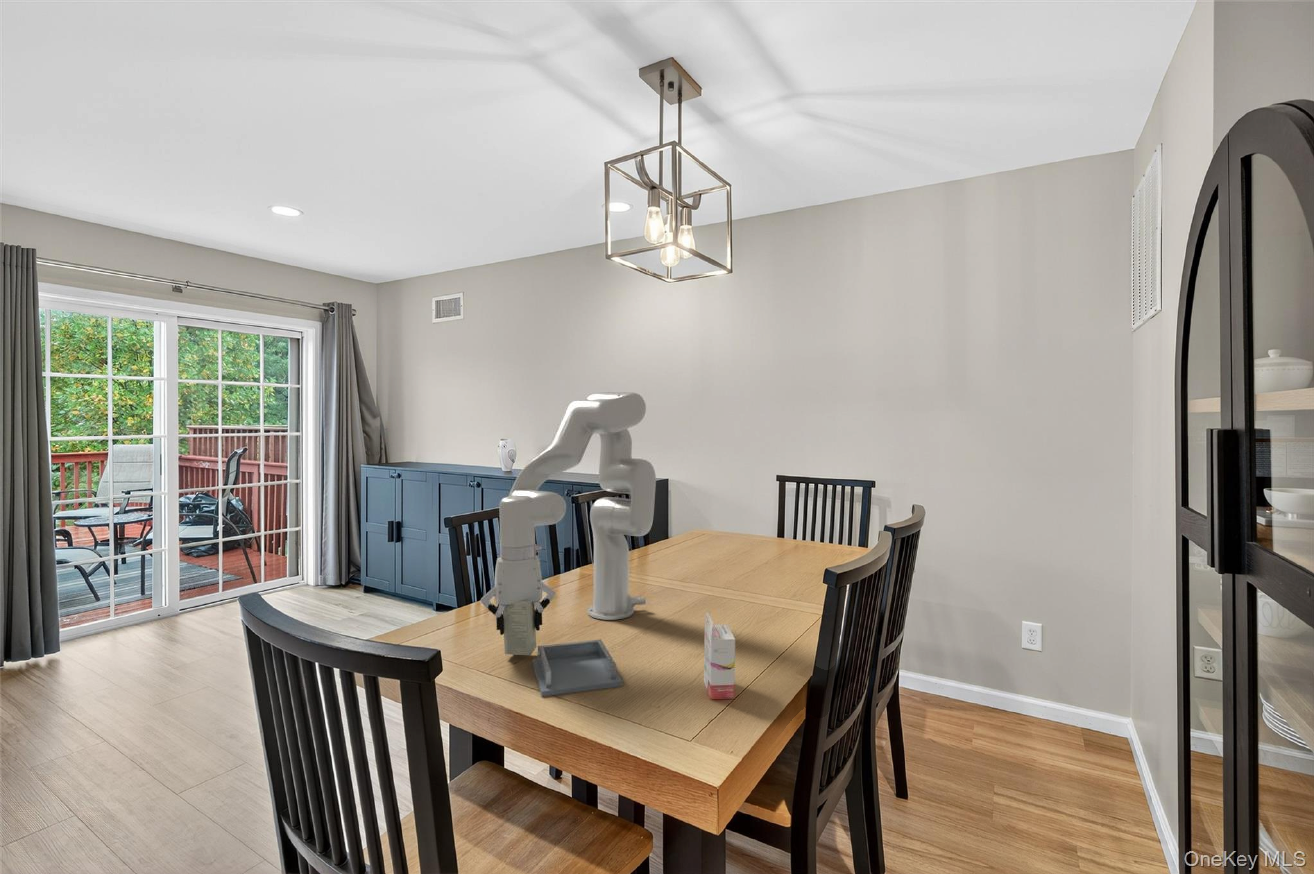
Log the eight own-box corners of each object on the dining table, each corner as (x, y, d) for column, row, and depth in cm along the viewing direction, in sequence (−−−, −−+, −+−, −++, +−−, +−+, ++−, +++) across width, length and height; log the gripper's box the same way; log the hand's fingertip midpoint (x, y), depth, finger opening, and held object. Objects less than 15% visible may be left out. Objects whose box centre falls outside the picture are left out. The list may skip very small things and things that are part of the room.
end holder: (604, 655, 138) (604, 638, 138) (622, 686, 122) (622, 666, 122) (532, 663, 133) (532, 645, 133) (541, 696, 118) (541, 676, 117)
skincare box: (536, 647, 138) (535, 595, 138) (530, 655, 134) (529, 601, 133) (509, 646, 139) (508, 594, 138) (503, 655, 135) (501, 601, 134)
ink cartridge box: (735, 699, 117) (736, 624, 117) (710, 700, 117) (711, 624, 116) (727, 680, 126) (727, 609, 125) (703, 680, 125) (703, 609, 125)
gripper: (554, 545, 141) (556, 620, 142) (476, 551, 136) (478, 629, 137) (559, 553, 134) (561, 631, 135) (477, 559, 129) (479, 641, 130)
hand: (519, 629), depth 136 cm, fingers closed on skincare box, 7 cm apart
